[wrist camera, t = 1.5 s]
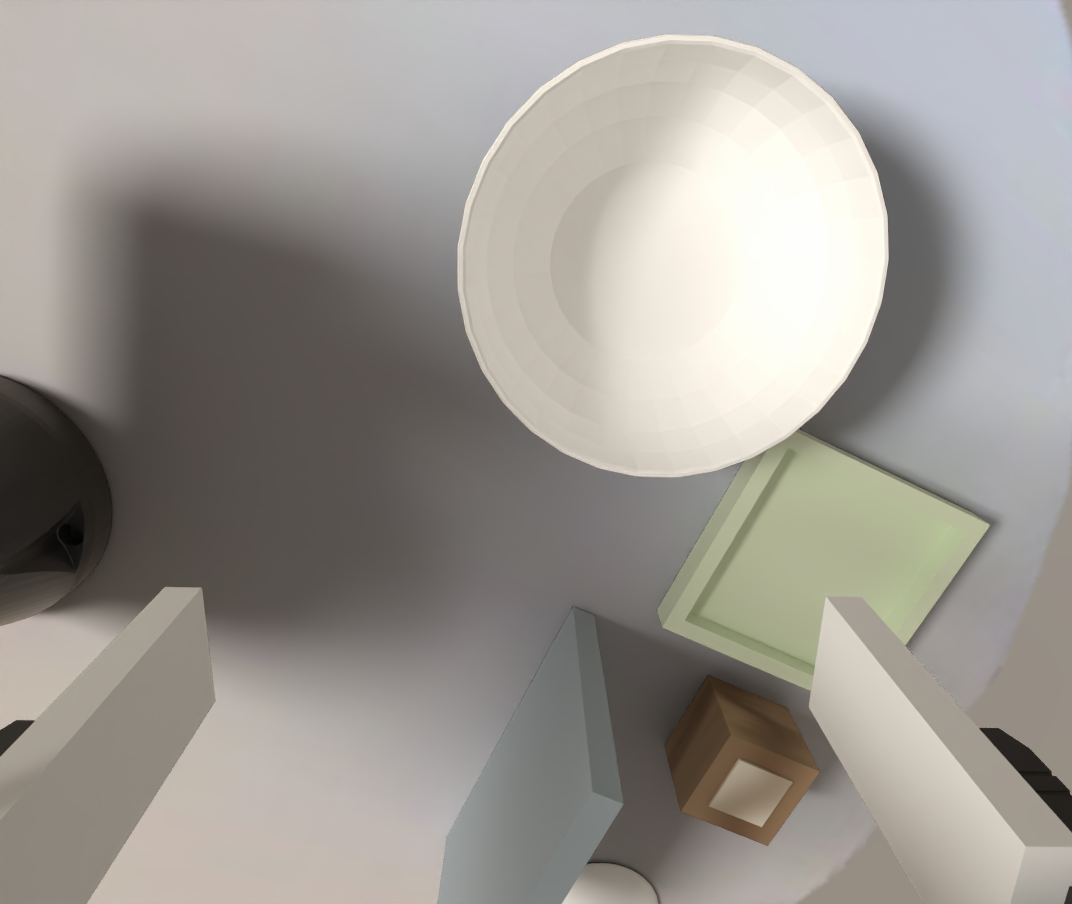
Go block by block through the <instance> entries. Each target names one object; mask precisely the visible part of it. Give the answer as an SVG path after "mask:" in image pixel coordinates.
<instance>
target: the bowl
mask: <svg viewBox="0 0 1072 904" xmlns="http://www.w3.org/2000/svg"><path fill="white" fill-rule="evenodd" d="M457 253H458V295H459V300H460V305H461V310H462V315H463V320H464V325H465V330H466V333H467V336H468V338H469V341H470V343H471V346H472V348H473V351H474V353H475V355H476V358H477V360H478V363H479V365H480V368H481V370H482V372H483V373H484V375H485V376H486V378H487V379H488V381H489V382H490V384H491V385H492V387H493V388H494V390H495V391H496V393H497V394H498V396H499V397H500V399H501V400H502V402H503V403H504V404H505V405H506V406H507V407H508V408H509V410H510V411H511V412H512V413H513V414H514V415H515V416H516V417H517V418H518V419H519V420H520V421H521V422H522V423H523V424H524V425H525V426H526V427H527V428H528V429H529V430H530V431H531V432H533V433H534V434H536V435H537V436H538V437H540V438H541V439H543V440H544V441H546V442H547V443H549V444H550V445H552V446H553V447H555V448H556V449H558V450H559V451H561V452H562V453H564V454H566V455H568V456H571V457H573V458H575V459H578V460H580V461H582V462H585V463H587V464H589V465H592V466H594V467H596V468H599V469H603V470H608V471H612V472H617V473H622V474H626V475H631V476H636V477H667V478H677V477H683V476H689V475H695V474H702V473H708V472H714V471H717V470H720V469H723V468H725V467H728V466H731V465H734V464H737V463H740V462H742V461H745V460H748V459H751V458H753V457H755V456H756V455H758V454H760V453H762V452H763V451H765V450H767V449H769V448H770V447H772V446H774V445H776V444H778V443H779V442H781V441H783V440H785V439H786V438H788V437H789V436H790V435H791V434H793V433H794V432H795V431H796V430H797V429H799V428H800V427H801V426H802V425H803V424H805V423H806V422H807V421H808V420H809V419H811V418H812V417H813V416H814V415H815V414H817V413H818V412H819V411H820V410H821V408H822V407H823V406H824V405H825V404H826V403H827V401H828V400H829V399H830V398H831V397H832V395H833V394H834V393H835V392H836V391H837V390H838V388H839V387H840V386H841V385H842V384H843V382H844V381H845V380H846V379H847V377H848V375H849V373H850V372H851V370H852V368H853V366H854V365H855V363H856V361H857V360H858V358H859V356H860V354H861V353H862V351H863V349H864V347H865V346H866V344H867V342H868V339H869V336H870V334H871V331H872V328H873V325H874V322H875V320H876V317H877V314H878V311H879V308H880V306H881V303H882V298H883V291H884V285H885V279H886V273H887V267H888V261H889V251H888V218H887V211H886V207H885V202H884V198H883V194H882V189H881V185H880V181H879V177H878V172H877V170H876V168H875V166H874V164H873V161H872V159H871V157H870V155H869V153H868V151H867V148H866V146H865V144H864V142H863V140H862V138H861V135H860V133H859V131H858V130H857V129H856V127H855V126H854V125H853V123H852V122H851V121H850V120H849V118H848V117H847V116H846V114H845V113H844V112H843V110H842V109H841V108H840V106H839V105H838V104H837V102H836V101H835V100H834V98H833V97H832V96H831V95H830V94H829V93H827V92H826V91H825V90H824V89H823V88H821V87H820V86H819V85H818V84H817V83H816V82H814V81H813V80H812V79H811V78H810V77H809V76H807V75H806V74H805V73H804V72H803V71H801V70H800V69H799V68H798V67H796V66H794V65H792V64H790V63H788V62H786V61H784V60H782V59H781V58H779V57H777V56H775V55H773V54H771V53H769V52H767V51H765V50H763V49H761V48H759V47H757V46H753V45H749V44H745V43H741V42H737V41H734V40H730V39H726V38H722V37H718V36H714V35H685V34H665V35H660V36H655V37H649V38H644V39H639V40H634V41H628V42H623V43H620V44H618V45H616V46H613V47H611V48H608V49H606V50H604V51H601V52H599V53H597V54H594V55H592V56H589V57H587V58H585V59H582V60H580V61H578V62H577V63H575V64H574V65H572V66H571V67H569V68H568V69H567V70H565V71H564V72H562V73H561V74H559V75H558V76H556V77H555V78H554V79H552V80H551V81H549V82H548V83H546V84H545V85H543V86H542V87H540V88H539V90H538V91H537V92H536V93H535V94H534V95H533V96H532V97H531V98H530V99H529V100H528V101H527V102H526V103H525V104H524V105H523V106H522V107H521V108H520V109H519V110H518V111H517V112H516V113H515V114H514V115H513V117H512V118H511V119H510V120H509V121H508V122H507V123H506V125H505V127H504V128H503V130H502V131H501V133H500V134H499V136H498V137H497V139H496V141H495V142H494V144H493V145H492V147H491V148H490V150H489V151H488V153H487V155H486V156H485V158H484V159H483V161H482V163H481V166H480V168H479V171H478V174H477V176H476V179H475V181H474V184H473V186H472V189H471V191H470V194H469V196H468V199H467V201H466V205H465V210H464V215H463V220H462V226H461V231H460V236H459V241H458V247H457Z"/></svg>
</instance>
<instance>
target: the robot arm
mask: <svg viewBox="0 0 1072 904" xmlns="http://www.w3.org/2000/svg"><path fill="white" fill-rule="evenodd" d="M111 522H112V505H111V497H110V491H109V487H108V483H107V480H106V477H105V474H104V471H103V469H102V466H101V464H100V462H99V460H98V458H97V456H96V454H95V452H94V450H93V449H92V447H91V446H90V444H89V443H88V441H87V440H86V438H85V437H84V436H83V434H82V433H81V432H80V430H79V429H78V428H77V427H76V426H75V425H74V424H73V422H72V421H71V420H70V419H69V418H68V417H67V416H66V415H65V414H63V413H62V412H61V411H60V410H59V409H58V408H57V407H55V406H54V405H53V404H51V403H50V402H49V401H47V400H46V399H45V398H43V397H42V396H40V395H39V394H37V393H35V392H34V391H32V390H30V389H28V388H26V387H24V386H22V385H20V384H18V383H16V382H14V381H11V380H9V379H6V378H3V377H0V626H2V625H6V624H9V623H12V622H16V621H19V620H22V619H25V618H28V617H31V616H33V615H35V614H37V613H40V612H41V611H43V610H45V609H47V608H49V607H51V606H52V605H54V604H55V603H57V602H58V601H59V600H61V599H62V598H63V597H64V596H66V595H67V594H68V593H69V592H71V591H72V590H73V589H74V588H76V587H77V586H78V585H79V584H81V583H82V582H83V581H84V580H85V579H86V578H87V577H88V576H89V575H90V574H91V572H92V571H93V570H94V568H95V567H96V566H97V564H98V563H99V561H100V559H101V557H102V555H103V553H104V551H105V548H106V546H107V543H108V539H109V535H110V530H111ZM215 701H216V700H215V692H214V683H213V675H212V667H211V658H210V650H209V642H208V633H207V625H206V617H205V609H204V600H203V592H202V588H200V587H164V588H163V589H162V590H161V591H160V592H159V594H158V595H157V596H156V597H155V598H154V599H153V600H152V601H151V602H150V603H149V604H148V605H147V606H146V607H145V608H144V609H143V610H142V611H141V612H140V613H139V614H138V615H137V616H136V617H135V618H134V619H133V620H132V621H131V622H130V623H129V624H128V626H127V627H126V628H125V629H124V630H123V631H122V632H121V633H120V634H119V635H118V636H117V637H116V638H115V639H114V640H113V641H112V642H111V643H110V644H109V645H108V646H107V647H106V648H105V649H104V650H103V651H102V652H101V653H100V654H99V655H98V656H97V658H96V659H95V660H94V661H93V662H92V663H91V664H90V665H89V666H88V667H87V668H86V669H85V670H84V671H83V672H82V673H81V674H80V675H79V676H78V677H77V678H76V679H75V680H74V681H73V682H72V683H71V684H70V685H69V686H68V687H67V688H66V690H65V691H64V692H63V693H62V694H61V695H60V696H59V697H58V698H57V699H56V700H55V701H54V702H53V703H52V704H51V705H50V706H49V707H48V708H47V709H46V710H45V711H44V712H43V713H42V714H41V715H40V716H39V717H38V718H37V719H36V720H35V721H33V720H16V721H14V722H13V723H11V724H10V725H8V726H6V727H5V728H3V729H1V730H0V904H87V902H88V901H89V899H90V897H91V896H92V894H93V893H94V891H95V890H96V888H97V886H98V885H99V883H100V882H101V880H102V879H103V877H104V875H105V874H106V872H107V871H108V869H109V867H110V866H111V864H112V863H113V861H114V860H115V858H116V856H117V855H118V853H119V852H120V850H121V849H122V847H123V845H124V844H125V842H126V841H127V839H128V838H129V836H130V834H131V833H132V831H133V830H134V828H135V827H136V825H137V823H138V822H139V820H140V819H141V817H142V816H143V814H144V812H145V811H146V809H147V808H148V806H149V805H150V803H151V801H152V800H153V798H154V797H155V795H156V794H157V792H158V790H159V789H160V787H161V786H162V784H163V783H164V781H165V779H166V778H167V776H168V775H169V773H170V772H171V770H172V768H173V767H174V765H175V764H176V762H177V761H178V759H179V757H180V756H181V754H182V753H183V751H184V750H185V748H186V746H187V745H188V743H189V742H190V740H191V739H192V737H193V735H194V734H195V732H196V731H197V729H198V728H199V726H200V724H201V723H202V721H203V720H204V718H205V717H206V715H207V713H208V712H209V710H210V709H211V707H212V706H213V704H214V702H215ZM809 709H810V710H811V712H812V714H813V715H814V717H815V719H816V721H817V722H818V724H819V726H820V727H821V729H822V731H823V733H824V734H825V736H826V738H827V739H828V741H829V743H830V745H831V746H832V748H833V750H834V751H835V753H836V755H837V757H838V758H839V760H840V762H841V763H842V765H843V767H844V769H845V770H846V772H847V774H848V775H849V777H850V779H851V781H852V782H853V784H854V786H855V787H856V789H857V791H858V793H859V794H860V796H861V798H862V799H863V801H864V803H865V805H866V806H867V808H868V810H869V811H870V813H871V815H872V817H873V818H874V820H875V822H876V823H877V825H878V827H879V829H880V830H881V832H882V834H883V835H884V837H885V839H886V841H887V842H888V844H889V846H890V847H891V849H892V851H893V853H894V854H895V856H896V858H897V859H898V861H899V863H900V865H901V866H902V868H903V870H904V871H905V873H906V875H907V877H908V878H909V880H910V882H911V883H912V885H913V887H914V888H915V890H916V892H917V894H918V895H919V897H920V899H921V901H922V902H923V904H1072V796H1071V795H1070V791H1069V789H1068V788H1066V786H1065V785H1064V784H1063V783H1062V782H1061V781H1060V780H1059V779H1058V778H1057V777H1056V776H1052V774H1051V771H1050V770H1049V768H1047V766H1046V765H1045V764H1044V763H1043V762H1042V761H1041V760H1040V759H1039V758H1038V757H1037V756H1036V755H1035V754H1034V753H1033V752H1032V751H1031V750H1030V749H1029V748H1028V747H1026V746H1025V745H1023V744H1022V743H1020V742H1019V741H1017V740H1016V739H1014V738H1013V737H1011V736H1009V735H1008V734H1007V733H1005V732H1004V731H1002V730H1000V729H999V728H978V727H977V726H976V725H975V724H974V722H973V721H972V720H971V719H970V718H969V717H968V716H967V715H966V713H965V712H964V711H963V710H962V709H961V708H960V707H959V706H958V704H957V703H956V702H955V701H954V700H953V699H952V698H951V697H950V696H949V694H948V693H947V692H946V691H945V690H944V689H943V688H942V687H941V685H940V684H939V683H938V682H937V681H936V680H935V679H934V678H933V676H932V675H931V674H930V673H929V672H928V671H927V670H926V669H925V668H924V666H923V665H922V664H921V663H920V662H919V661H918V660H917V659H916V657H915V656H914V655H913V654H912V653H911V652H910V651H909V650H908V648H907V647H906V646H905V645H904V644H903V643H902V642H901V641H900V639H899V638H898V637H897V636H896V635H895V634H894V633H893V632H892V631H891V629H890V628H889V627H888V626H887V625H886V624H885V623H884V622H883V620H882V619H881V618H880V617H879V616H878V615H877V614H876V613H875V611H874V610H873V609H872V608H871V607H870V606H869V605H868V604H867V602H866V601H865V600H864V599H863V598H862V597H834V596H826V599H825V605H824V611H823V618H822V624H821V631H820V637H819V643H818V650H817V656H816V663H815V669H814V675H813V682H812V688H811V695H810V701H809Z"/></svg>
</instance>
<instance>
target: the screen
mask: <svg viewBox="0 0 1072 904" xmlns="http://www.w3.org/2000/svg"><path fill="white" fill-rule="evenodd" d="M623 805H624V802H623V796H622V789H621V783H620V776H619V770H618V764H617V757H616V751H615V744H614V738H613V732H612V725H611V719H610V712H609V706H608V700H607V693H606V687H605V680H604V674H603V668H602V661H601V655H600V648H599V642H598V636H597V629H596V623H595V616H594V615H592V614H590V613H588V612H585V611H583V610H581V609H578V608H576V607H574V606H573V607H572V609H571V611H570V613H569V614H568V616H567V618H566V620H565V622H564V624H563V625H562V627H561V629H560V631H559V633H558V635H557V636H556V638H555V640H554V642H553V644H552V646H551V647H550V649H549V651H548V653H547V655H546V657H545V658H544V660H543V662H542V664H541V666H540V667H539V669H538V671H537V673H536V675H535V677H534V678H533V680H532V682H531V684H530V686H529V688H528V689H527V691H526V693H525V695H524V697H523V699H522V700H521V702H520V704H519V706H518V708H517V710H516V711H515V713H514V715H513V717H512V719H511V721H510V722H509V724H508V726H507V728H506V730H505V731H504V733H503V735H502V737H501V739H500V741H499V742H498V744H497V746H496V748H495V750H494V752H493V753H492V755H491V757H490V759H489V761H488V763H487V764H486V766H485V768H484V770H483V772H482V774H481V775H480V777H479V779H478V781H477V783H476V785H475V786H474V788H473V790H472V792H471V794H470V795H469V797H468V799H467V801H466V803H465V805H464V806H463V808H462V810H461V812H460V814H459V816H458V817H457V819H456V821H455V823H454V825H453V827H452V828H451V830H450V832H449V834H448V836H447V838H446V845H445V852H444V859H443V867H442V874H441V881H440V888H439V895H438V903H437V904H562V903H563V901H564V899H565V898H566V896H567V895H568V893H569V891H570V890H571V888H572V886H573V885H574V883H575V882H576V880H577V878H578V877H579V875H580V874H581V872H582V870H583V869H584V867H585V866H586V864H587V862H588V861H589V859H590V858H591V856H592V854H593V853H594V851H595V850H596V848H597V846H598V845H599V843H600V842H601V840H602V838H603V837H604V835H605V834H606V832H607V830H608V829H609V827H610V826H611V824H612V822H613V821H614V819H615V818H616V816H617V814H618V813H619V811H620V809H621V808H622V806H623Z"/></svg>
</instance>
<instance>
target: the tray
mask: <svg viewBox="0 0 1072 904" xmlns="http://www.w3.org/2000/svg"><path fill="white" fill-rule="evenodd" d="M989 526H990V525H989V524H988V523H986V522H985V521H983V520H982V519H980V518H979V517H977V516H976V515H974V514H973V513H971V512H970V511H968V510H966V509H964V508H962V507H959V506H957V505H955V504H953V503H951V502H949V501H947V500H945V499H943V498H941V497H939V496H937V495H935V494H932V493H930V492H928V491H926V490H924V489H922V488H920V487H918V486H916V485H914V484H912V483H910V482H908V481H905V480H903V479H901V478H899V477H897V476H895V475H893V474H891V473H889V472H887V471H885V470H883V469H881V468H878V467H876V466H874V465H872V464H870V463H868V462H866V461H864V460H862V459H860V458H858V457H856V456H854V455H851V454H849V453H847V452H845V451H843V450H841V449H839V448H837V447H835V446H833V445H831V444H829V443H827V442H824V441H822V440H820V439H818V438H816V437H814V436H812V435H810V434H808V433H806V432H804V431H802V430H800V429H797V430H796V431H795V432H794V433H793V434H791V435H790V436H789V437H788V438H786V439H785V440H783V441H781V442H779V443H778V444H776V445H774V446H772V447H770V448H769V449H767V450H765V451H763V452H762V453H760V454H758V455H756V456H755V457H753V458H751V459H748V460H745V461H744V462H743V463H742V465H741V467H740V469H739V470H738V472H737V474H736V475H735V477H734V479H733V481H732V482H731V484H730V486H729V487H728V489H727V491H726V493H725V494H724V496H723V498H722V499H721V501H720V503H719V505H718V506H717V508H716V510H715V511H714V513H713V515H712V516H711V518H710V520H709V522H708V523H707V525H706V527H705V528H704V530H703V532H702V534H701V535H700V537H699V539H698V540H697V542H696V544H695V546H694V547H693V549H692V551H691V552H690V554H689V556H688V558H687V559H686V561H685V563H684V564H683V566H682V568H681V570H680V571H679V573H678V575H677V576H676V578H675V580H674V581H673V583H672V585H671V587H670V588H669V590H668V592H667V593H666V595H665V597H664V599H663V600H662V602H661V604H660V605H659V607H658V609H657V613H658V616H659V619H660V622H661V625H662V628H664V629H667V630H669V631H671V632H674V633H676V634H678V635H681V636H683V637H685V638H688V639H690V640H692V641H695V642H697V643H699V644H702V645H704V646H706V647H709V648H711V649H713V650H716V651H718V652H720V653H723V654H725V655H727V656H730V657H732V658H734V659H737V660H739V661H741V662H744V663H746V664H748V665H751V666H753V667H755V668H758V669H760V670H762V671H765V672H767V673H769V674H772V675H774V676H776V677H779V678H781V679H783V680H786V681H788V682H790V683H793V684H795V685H797V686H800V687H802V688H804V689H807V690H809V691H811V688H812V682H813V675H814V669H815V663H816V656H817V650H818V643H819V637H820V631H821V624H822V618H823V611H824V605H825V599H826V596H834V597H862V598H863V599H864V600H865V601H866V602H867V604H868V605H869V606H870V607H871V608H872V609H873V610H874V611H875V613H876V614H877V615H878V616H879V617H880V618H881V619H882V620H883V622H884V623H885V624H886V625H887V626H888V627H889V628H890V629H891V631H892V632H893V633H894V634H895V635H896V636H897V637H898V638H899V639H900V641H901V642H902V643H903V644H904V645H905V646H906V644H907V643H908V641H909V640H910V638H911V637H912V636H913V634H914V633H915V631H916V630H917V629H918V627H919V626H920V624H921V623H922V621H923V620H924V619H925V617H926V616H927V614H928V613H929V611H930V610H931V609H932V607H933V606H934V604H935V603H936V602H937V600H938V599H939V597H940V596H941V594H942V593H943V592H944V590H945V589H946V587H947V586H948V585H949V583H950V582H951V580H952V579H953V577H954V576H955V575H956V573H957V572H958V570H959V569H960V568H961V566H962V565H963V563H964V562H965V560H966V559H967V558H968V556H969V555H970V553H971V552H972V550H973V549H974V548H975V546H976V545H977V543H978V542H979V541H980V539H981V538H982V536H983V535H984V533H985V532H986V531H987V529H988V528H989Z"/></svg>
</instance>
